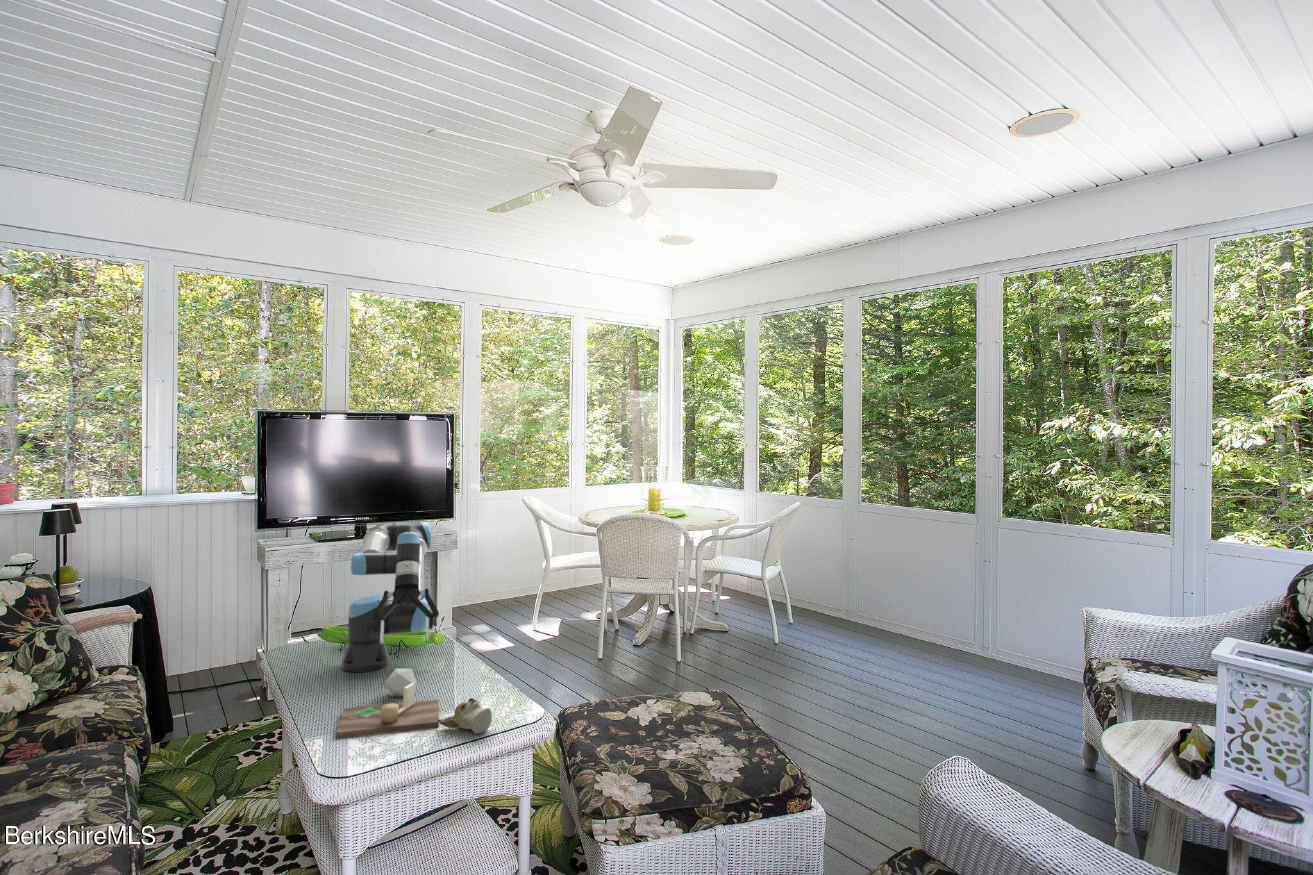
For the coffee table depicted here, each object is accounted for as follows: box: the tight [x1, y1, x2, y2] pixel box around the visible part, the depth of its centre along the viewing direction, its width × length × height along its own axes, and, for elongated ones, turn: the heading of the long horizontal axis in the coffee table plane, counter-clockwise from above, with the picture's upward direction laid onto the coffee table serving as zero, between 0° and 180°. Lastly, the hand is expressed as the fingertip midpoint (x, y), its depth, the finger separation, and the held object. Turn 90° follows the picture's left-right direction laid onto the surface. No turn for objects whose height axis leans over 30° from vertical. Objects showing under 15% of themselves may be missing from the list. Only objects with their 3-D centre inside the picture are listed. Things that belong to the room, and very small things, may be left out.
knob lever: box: [381, 683, 416, 723], centre depth 189 cm, size 14×4×6 cm, turn 169°
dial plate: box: [335, 699, 440, 739], centre depth 188 cm, size 16×26×2 cm, turn 109°
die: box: [384, 668, 418, 698], centre depth 206 cm, size 8×9×10 cm
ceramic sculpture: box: [438, 697, 493, 735], centre depth 184 cm, size 11×9×15 cm
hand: (404, 640), depth 208 cm, fingers open, 13 cm apart
